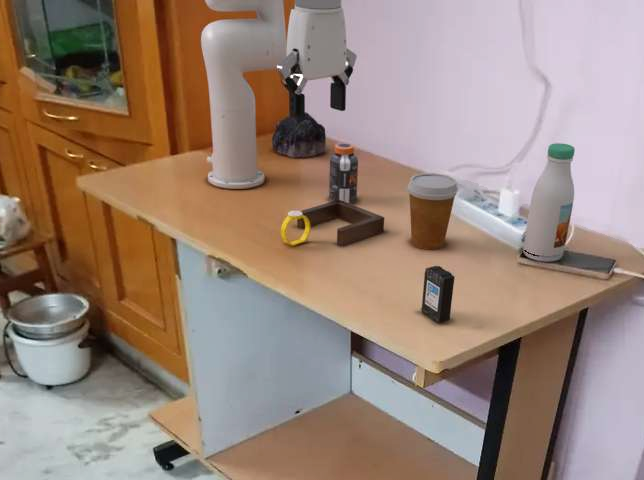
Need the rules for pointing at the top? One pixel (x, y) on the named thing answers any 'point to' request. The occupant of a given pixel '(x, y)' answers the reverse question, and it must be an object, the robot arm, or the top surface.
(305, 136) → the crystal cluster
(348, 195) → the pill bottle
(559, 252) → the milk bottle
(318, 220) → the bay
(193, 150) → the top surface
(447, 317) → the ink cartridge
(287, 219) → the watch
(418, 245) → the disposable coffee cup
